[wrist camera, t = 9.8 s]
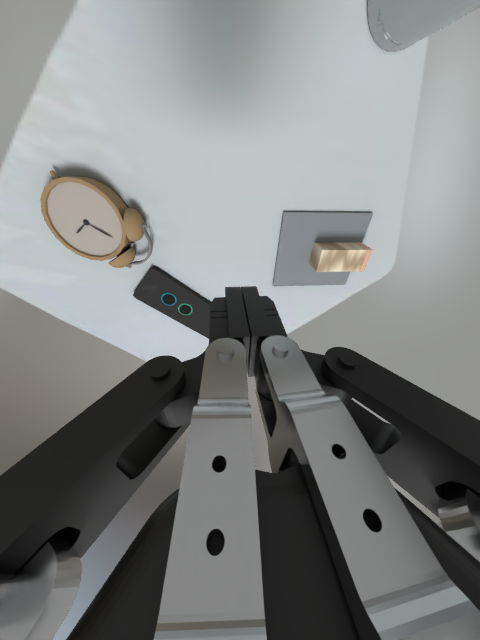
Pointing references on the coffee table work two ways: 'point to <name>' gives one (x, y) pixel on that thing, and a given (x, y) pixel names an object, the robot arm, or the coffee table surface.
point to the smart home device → (175, 300)
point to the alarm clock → (92, 220)
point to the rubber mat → (299, 240)
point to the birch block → (339, 256)
